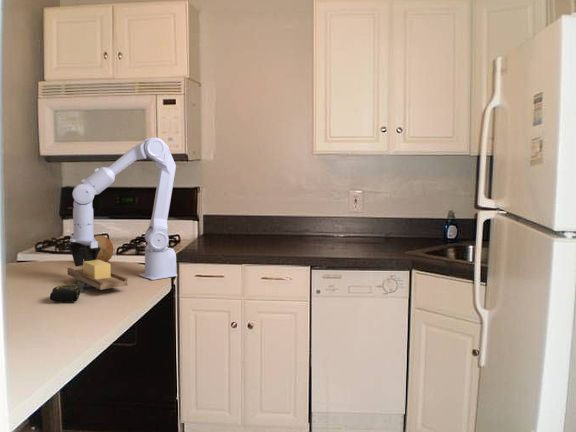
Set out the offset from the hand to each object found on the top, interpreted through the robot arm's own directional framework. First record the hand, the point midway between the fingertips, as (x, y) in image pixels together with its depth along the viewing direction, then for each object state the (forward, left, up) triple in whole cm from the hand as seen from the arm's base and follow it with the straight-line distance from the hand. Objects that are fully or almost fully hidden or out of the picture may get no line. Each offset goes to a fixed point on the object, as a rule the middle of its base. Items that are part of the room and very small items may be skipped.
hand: (84, 268), depth 162 cm
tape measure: (+13, +18, -4) cm, 22 cm away
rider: (0, +9, -1) cm, 9 cm away
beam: (0, +8, -2) cm, 9 cm away
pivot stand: (0, +8, -4) cm, 9 cm away
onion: (-14, -20, -4) cm, 25 cm away
